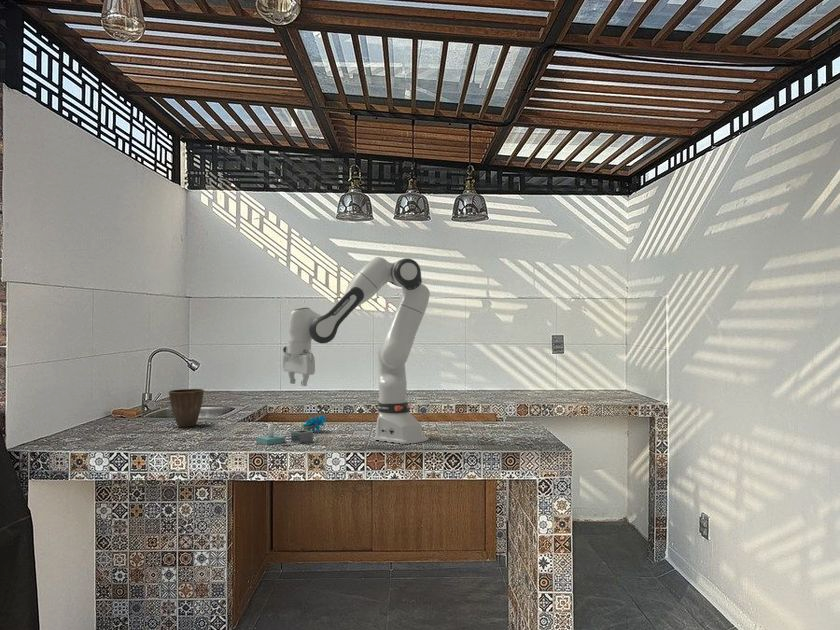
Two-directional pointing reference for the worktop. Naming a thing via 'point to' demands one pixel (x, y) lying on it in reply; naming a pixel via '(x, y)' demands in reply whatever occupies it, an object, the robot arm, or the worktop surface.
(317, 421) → the blue toy dinosaur
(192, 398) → the plant pot
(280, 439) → the shaft block
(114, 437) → the worktop surface
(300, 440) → the collar
